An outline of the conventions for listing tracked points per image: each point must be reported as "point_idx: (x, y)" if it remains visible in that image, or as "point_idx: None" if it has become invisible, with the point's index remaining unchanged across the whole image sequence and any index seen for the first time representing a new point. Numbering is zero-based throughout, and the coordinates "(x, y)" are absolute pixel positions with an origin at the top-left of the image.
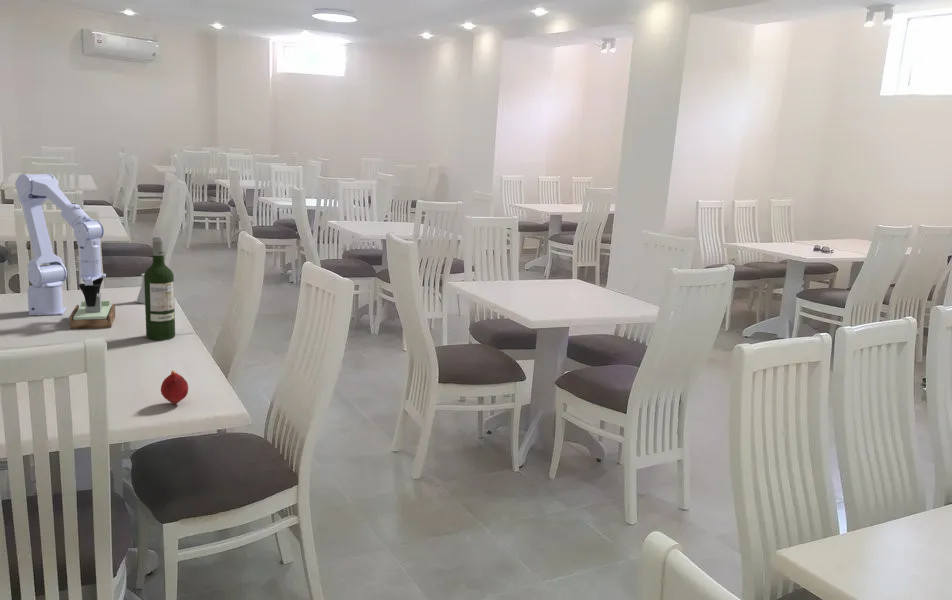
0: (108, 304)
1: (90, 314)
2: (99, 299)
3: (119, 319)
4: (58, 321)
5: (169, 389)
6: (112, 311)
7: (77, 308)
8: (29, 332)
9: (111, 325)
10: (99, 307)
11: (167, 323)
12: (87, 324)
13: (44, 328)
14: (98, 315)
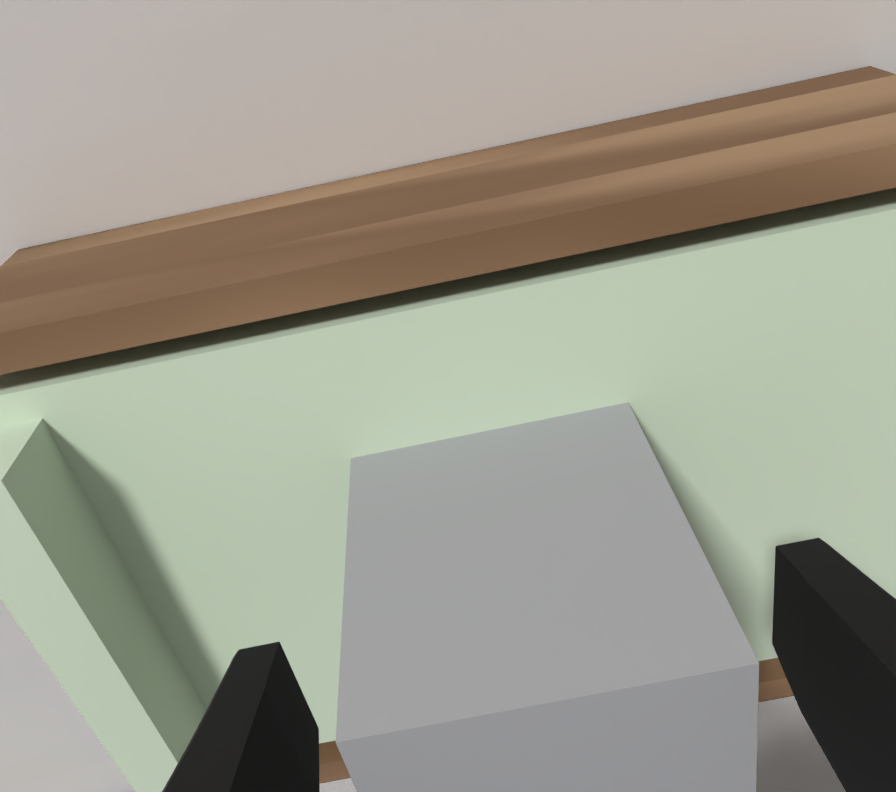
0: (45, 448)
1: (788, 490)
2: (724, 597)
3: (272, 96)
4: None
5: None
6: (519, 213)
7: (330, 743)
8: None
9: (769, 91)
10: (658, 469)
11: None
12: None
13: (758, 731)
14: (888, 354)
